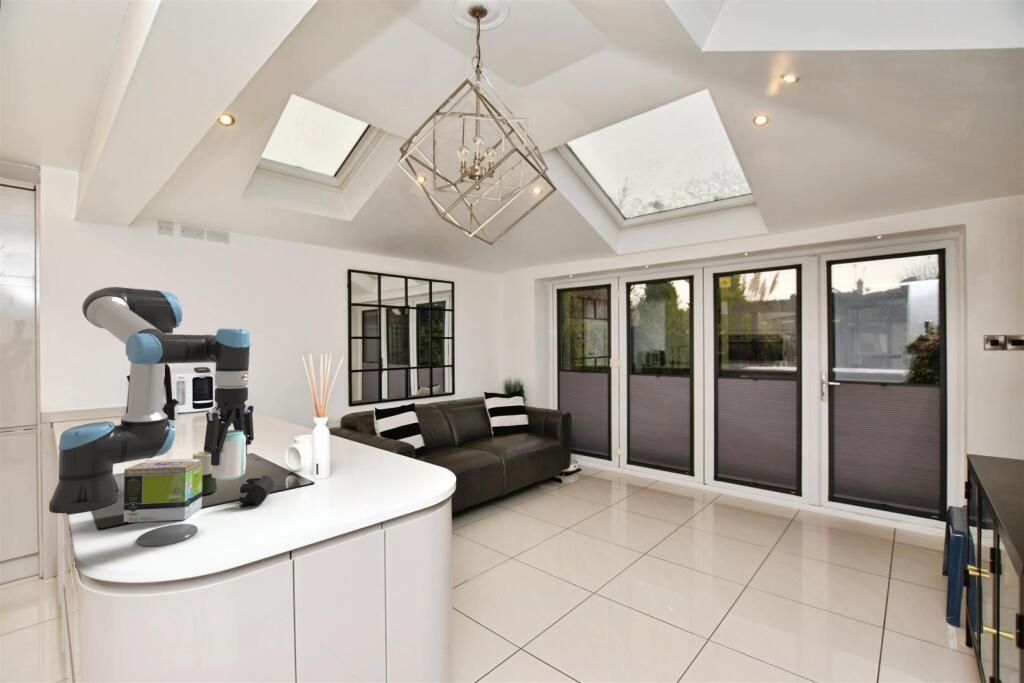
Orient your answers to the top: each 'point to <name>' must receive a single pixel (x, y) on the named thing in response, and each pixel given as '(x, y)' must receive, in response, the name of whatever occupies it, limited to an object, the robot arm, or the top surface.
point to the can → (234, 455)
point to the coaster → (167, 535)
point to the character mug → (206, 472)
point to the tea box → (162, 490)
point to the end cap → (256, 491)
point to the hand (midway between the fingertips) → (229, 472)
